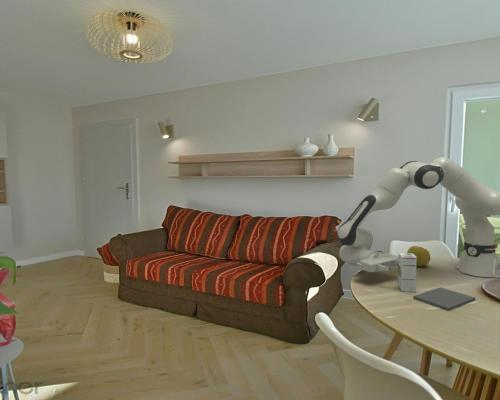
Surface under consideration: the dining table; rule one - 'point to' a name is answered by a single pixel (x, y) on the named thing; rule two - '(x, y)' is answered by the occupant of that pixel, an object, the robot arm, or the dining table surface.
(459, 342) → the dining table surface
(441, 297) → the placemat
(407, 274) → the syrup box
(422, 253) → the fruit
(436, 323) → the dining table surface
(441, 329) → the dining table surface
